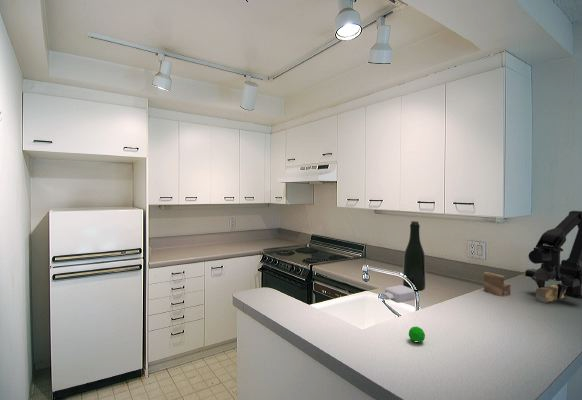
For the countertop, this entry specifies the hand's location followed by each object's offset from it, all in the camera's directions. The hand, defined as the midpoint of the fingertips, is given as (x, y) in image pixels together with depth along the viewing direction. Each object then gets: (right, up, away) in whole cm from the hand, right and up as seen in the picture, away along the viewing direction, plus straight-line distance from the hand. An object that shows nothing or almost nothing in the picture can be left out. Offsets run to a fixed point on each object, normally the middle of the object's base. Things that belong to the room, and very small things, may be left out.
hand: (550, 296), depth 145 cm
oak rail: (0, -1, 0) cm, 1 cm away
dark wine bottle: (-54, -1, +16) cm, 56 cm away
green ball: (-73, -4, -37) cm, 82 cm away
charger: (-68, -2, +1) cm, 68 cm away
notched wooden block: (-18, -1, +9) cm, 20 cm away
